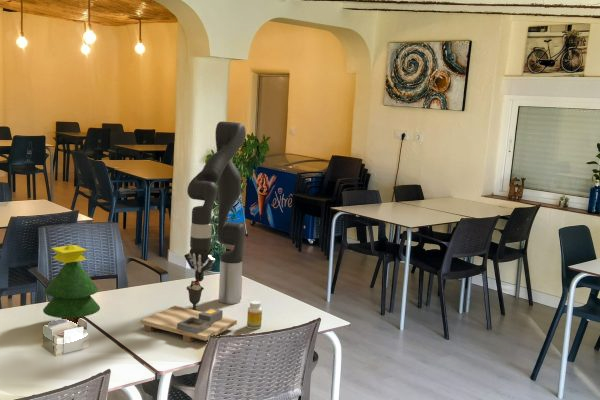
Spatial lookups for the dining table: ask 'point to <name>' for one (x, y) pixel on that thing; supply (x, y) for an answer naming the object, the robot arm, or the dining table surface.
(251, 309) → the supplement bottle
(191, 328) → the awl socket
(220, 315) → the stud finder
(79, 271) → the decorative tree
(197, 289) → the sundae
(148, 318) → the wooden pallet
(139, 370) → the dining table surface
